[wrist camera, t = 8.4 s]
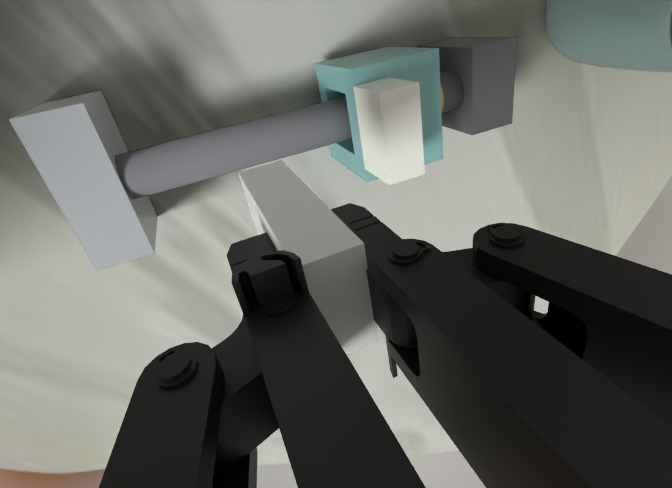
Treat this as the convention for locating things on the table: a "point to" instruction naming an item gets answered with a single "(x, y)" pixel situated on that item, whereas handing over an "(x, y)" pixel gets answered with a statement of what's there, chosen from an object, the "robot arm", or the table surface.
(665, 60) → the cup
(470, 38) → the block
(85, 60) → the table surface
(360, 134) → the sleeve
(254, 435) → the robot arm
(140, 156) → the grey rod
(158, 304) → the table surface
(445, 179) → the table surface
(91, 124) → the grey slab
